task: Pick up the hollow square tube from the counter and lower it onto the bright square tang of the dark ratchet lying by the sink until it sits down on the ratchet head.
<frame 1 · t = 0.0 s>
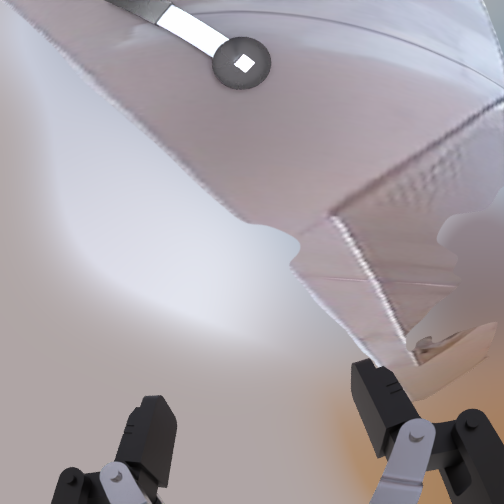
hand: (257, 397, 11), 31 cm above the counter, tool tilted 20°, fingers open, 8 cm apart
ratchet: (239, 62, 28), on the counter
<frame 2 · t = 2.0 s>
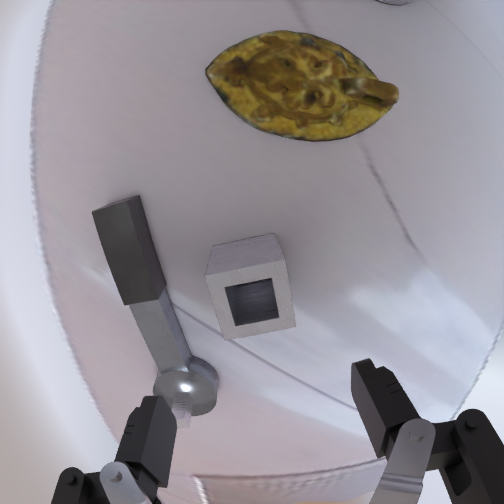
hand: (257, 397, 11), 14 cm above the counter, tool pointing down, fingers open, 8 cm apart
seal: (301, 85, 20), on the counter
hollow square tube: (249, 267, 24), on the counter
ratchet: (188, 377, 28), on the counter
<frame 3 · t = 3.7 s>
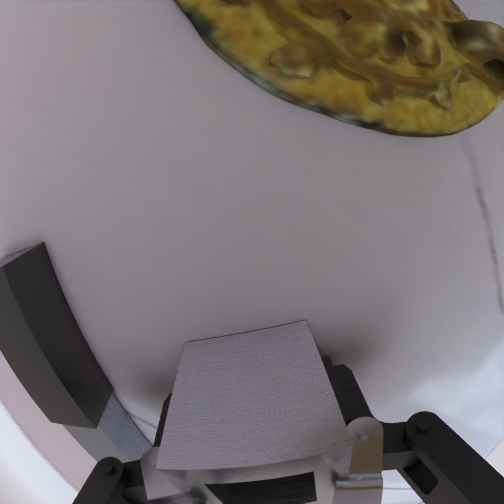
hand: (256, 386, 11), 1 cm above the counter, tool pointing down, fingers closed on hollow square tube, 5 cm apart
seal: (364, 26, 8), on the counter
hollow square tube: (256, 376, 12), on the counter, touching gripper
ratchet: (167, 480, 16), on the counter
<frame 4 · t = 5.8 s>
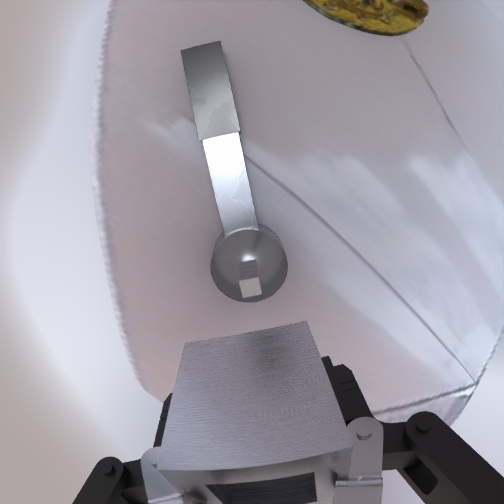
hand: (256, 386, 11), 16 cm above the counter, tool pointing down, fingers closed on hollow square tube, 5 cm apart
hollow square tube: (256, 376, 12), point 16 cm above the counter, touching gripper
ratchet: (248, 256, 27), on the counter
when the fingers open (5 cm above the counter, at t = 7.8 s): hollow square tube stays where it is, resting on ratchet.
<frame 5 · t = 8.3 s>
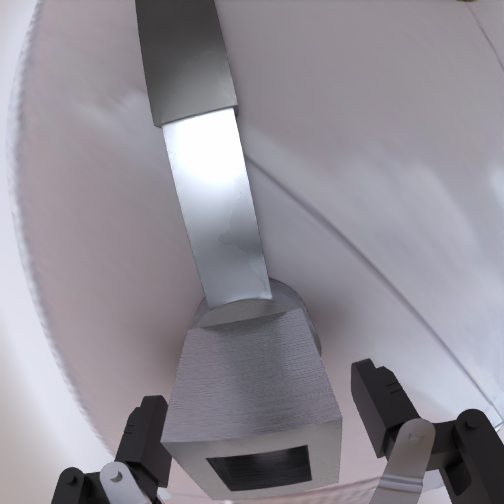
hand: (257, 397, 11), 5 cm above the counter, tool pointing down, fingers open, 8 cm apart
hollow square tube: (254, 362, 13), point 3 cm above the counter, touching ratchet
ratchet: (251, 328, 16), on the counter
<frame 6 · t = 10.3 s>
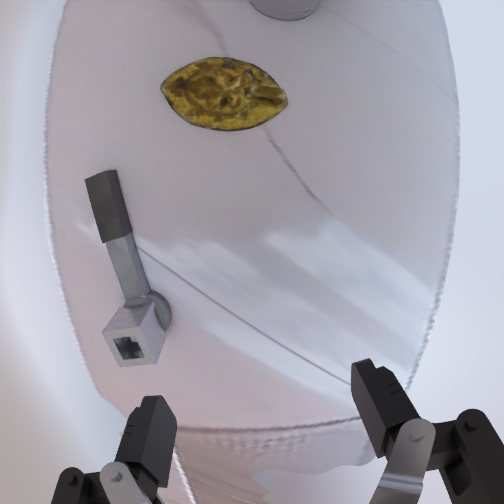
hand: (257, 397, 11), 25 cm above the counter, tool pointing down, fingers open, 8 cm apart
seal: (223, 94, 30), on the counter
hollow square tube: (142, 321, 34), point 3 cm above the counter, touching ratchet
ratchet: (148, 310, 37), on the counter
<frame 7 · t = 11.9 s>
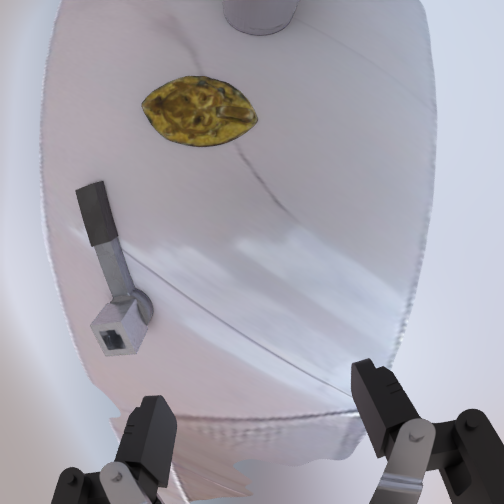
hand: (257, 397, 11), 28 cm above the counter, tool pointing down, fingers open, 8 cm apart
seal: (198, 111, 33), on the counter
hollow square tube: (127, 316, 37), point 3 cm above the counter, touching ratchet
ratchet: (133, 306, 40), on the counter
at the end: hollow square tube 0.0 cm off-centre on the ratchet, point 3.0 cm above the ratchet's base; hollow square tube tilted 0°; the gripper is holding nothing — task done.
